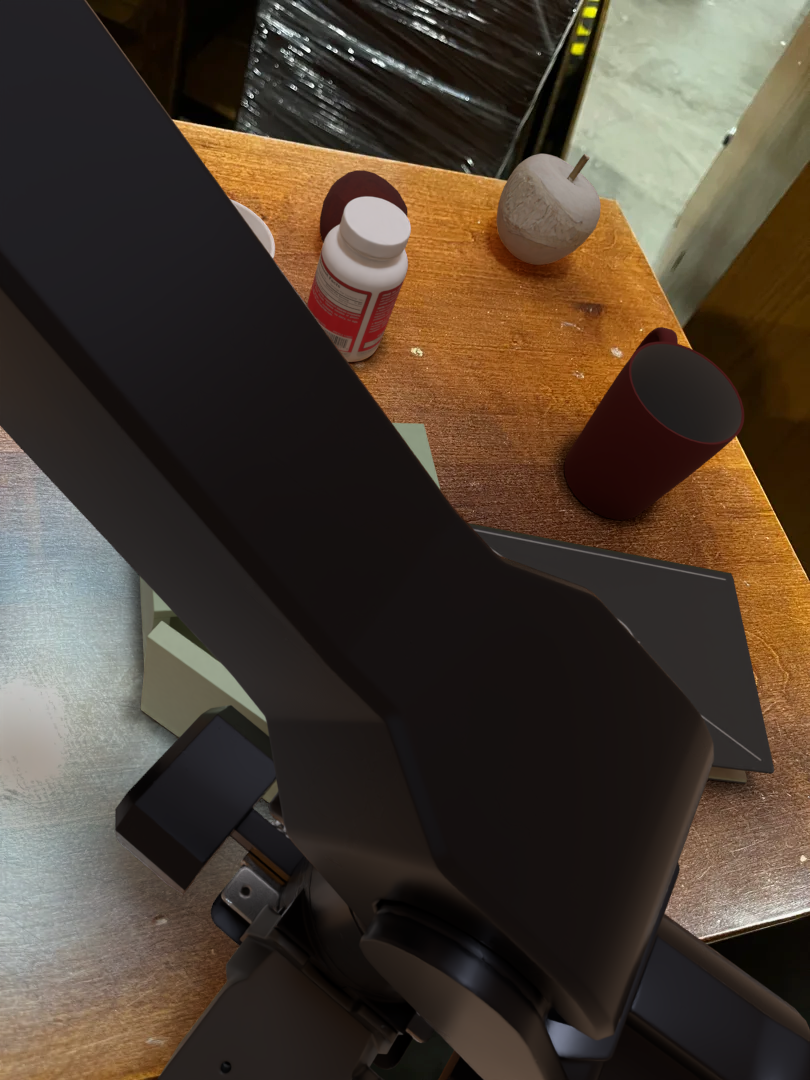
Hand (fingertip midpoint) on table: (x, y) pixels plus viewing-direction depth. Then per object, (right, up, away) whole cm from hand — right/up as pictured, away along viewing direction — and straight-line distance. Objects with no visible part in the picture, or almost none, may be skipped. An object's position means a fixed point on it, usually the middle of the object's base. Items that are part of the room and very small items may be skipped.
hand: (311, 940), depth 37 cm
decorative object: (+16, +45, +38) cm, 61 cm away
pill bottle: (-1, +34, +26) cm, 43 cm away
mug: (+20, +24, +28) cm, 42 cm away
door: (-5, +3, +6) cm, 8 cm away
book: (+17, +10, +18) cm, 27 cm away
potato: (0, +43, +31) cm, 53 cm away
